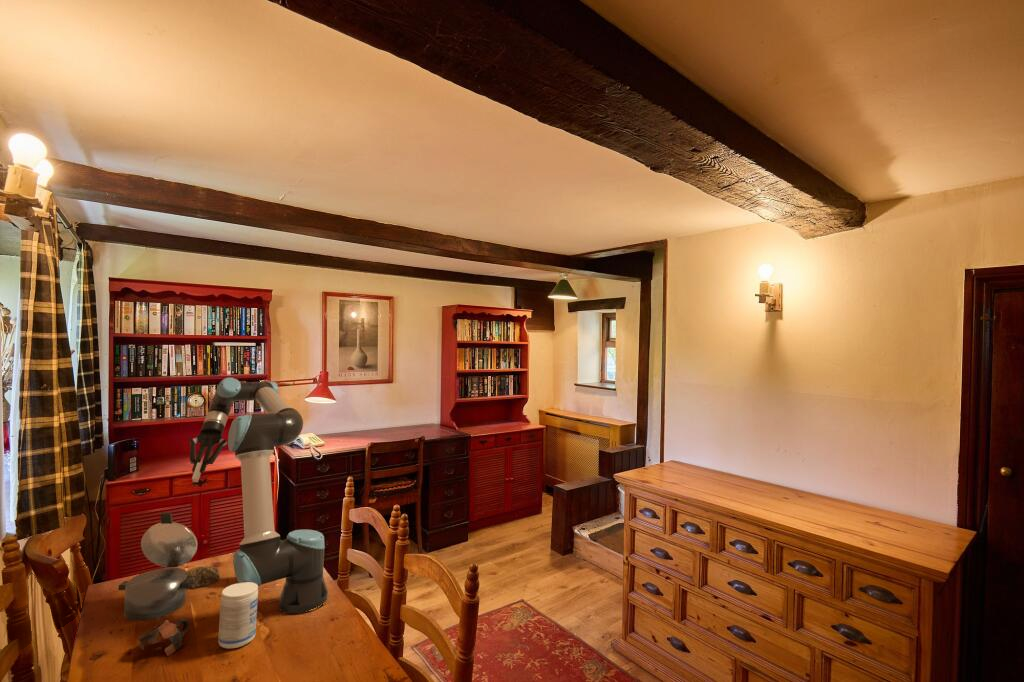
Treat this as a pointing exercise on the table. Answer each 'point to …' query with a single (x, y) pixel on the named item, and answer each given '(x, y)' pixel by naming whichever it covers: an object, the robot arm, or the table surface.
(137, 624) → the table surface
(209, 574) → the speckled stone
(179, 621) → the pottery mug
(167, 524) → the lid
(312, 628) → the table surface
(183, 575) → the cooker pot
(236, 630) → the supplement tub
